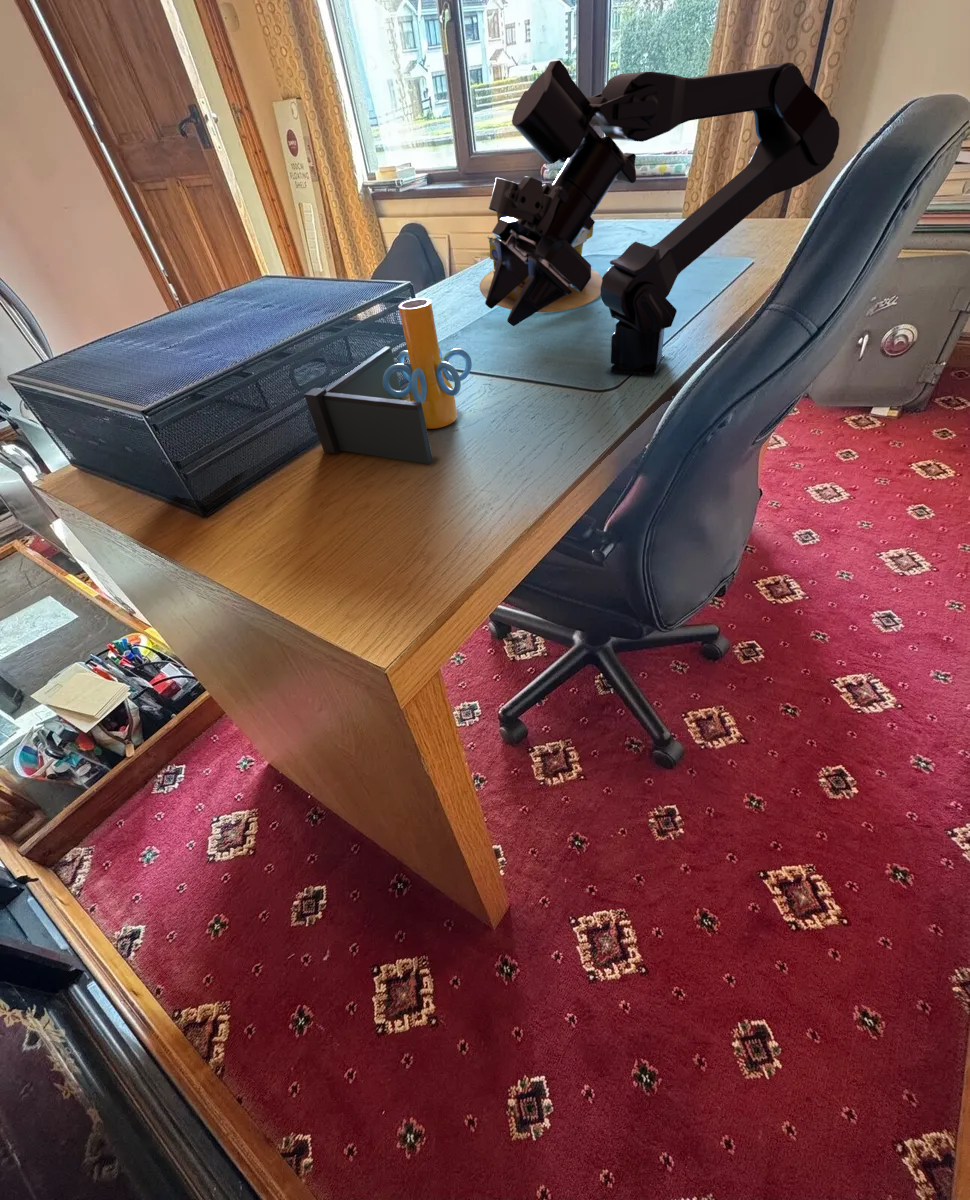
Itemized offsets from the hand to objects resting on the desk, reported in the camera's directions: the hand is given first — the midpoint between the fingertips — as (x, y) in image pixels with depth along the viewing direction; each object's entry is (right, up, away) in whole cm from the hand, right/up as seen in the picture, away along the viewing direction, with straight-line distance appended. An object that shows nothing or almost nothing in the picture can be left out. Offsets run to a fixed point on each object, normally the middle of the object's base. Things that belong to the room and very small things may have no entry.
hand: (498, 314), depth 72 cm
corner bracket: (-13, -13, +5) cm, 19 cm away
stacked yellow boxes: (+10, +25, +42) cm, 50 cm away
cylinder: (-8, -12, +6) cm, 16 cm away
